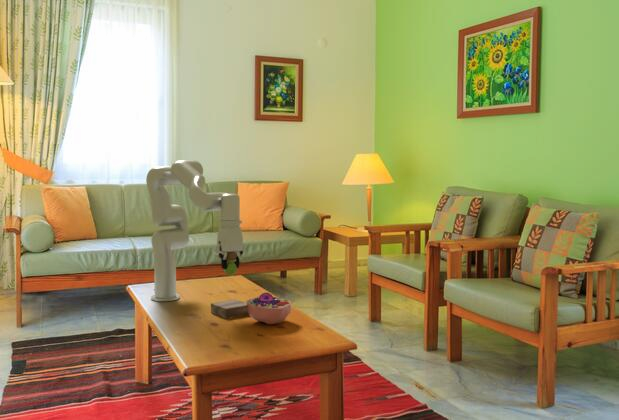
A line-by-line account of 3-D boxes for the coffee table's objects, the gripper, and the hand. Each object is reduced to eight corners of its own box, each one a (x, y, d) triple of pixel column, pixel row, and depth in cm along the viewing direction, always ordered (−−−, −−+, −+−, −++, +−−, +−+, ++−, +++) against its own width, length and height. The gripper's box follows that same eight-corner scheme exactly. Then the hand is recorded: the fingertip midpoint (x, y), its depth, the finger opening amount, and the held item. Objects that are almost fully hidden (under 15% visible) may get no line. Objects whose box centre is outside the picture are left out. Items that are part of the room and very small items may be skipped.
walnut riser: (210, 312, 261) (210, 303, 261) (235, 308, 268) (235, 299, 268) (226, 318, 252) (226, 308, 251) (251, 314, 259) (251, 304, 259)
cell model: (256, 331, 234) (256, 301, 233) (241, 318, 253) (241, 290, 252) (298, 327, 240) (298, 297, 239) (281, 314, 259) (281, 287, 258)
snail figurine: (221, 273, 261) (221, 245, 260) (237, 273, 261) (237, 245, 260) (220, 276, 255) (220, 247, 254) (236, 276, 256) (236, 247, 255)
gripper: (243, 222, 265) (243, 264, 267) (207, 224, 254) (207, 268, 256) (252, 223, 259) (252, 267, 261) (216, 226, 249) (216, 271, 250)
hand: (230, 267), depth 258 cm, fingers closed on snail figurine, 5 cm apart
